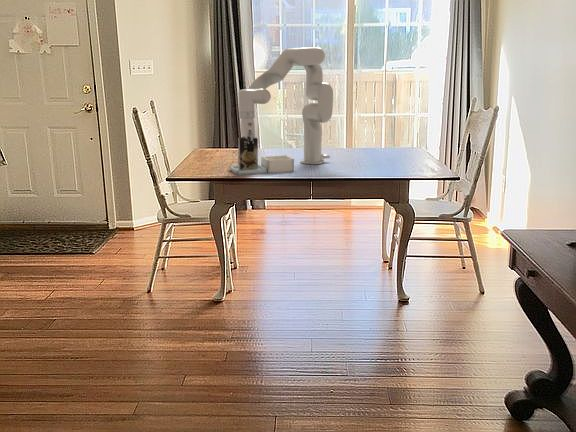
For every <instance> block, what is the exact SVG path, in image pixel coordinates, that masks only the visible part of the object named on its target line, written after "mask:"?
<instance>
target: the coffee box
mask: <svg viewBox="0 0 576 432" xmlns="http://www.w3.org/2000/svg"><path fill="white" fill-rule="evenodd" d="M237 141H238V143H237V149H238V150H237V151H238V154H237V156H238V165H237V166H239V170H240V171H242V170H256V169H258V164H259V157H258V156H259V155H258V154H259V152H258V151H259V148H258V147H259V144H258V143H259V141H258V137H256V136H255V139H254V140H253V141H254V151H253V152H247V144H248V142H247V139H245V138H243V137H242V136H240V137H239V136H238V137H237Z"/></svg>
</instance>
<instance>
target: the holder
mask: <svg viewBox="0 0 576 432" xmlns="http://www.w3.org/2000/svg"><path fill="white" fill-rule="evenodd" d="M260 161H261V163H260V166H262V167H264V168H265V169H266V173H282V172H292V171H295V158H293V157H291V156H289V155H286V154H285V155H284V154H283V155H281V154H280V155H270V156H267V155H266V156H265V155H264V156H260Z"/></svg>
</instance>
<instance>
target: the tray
mask: <svg viewBox="0 0 576 432" xmlns="http://www.w3.org/2000/svg"><path fill="white" fill-rule="evenodd" d="M229 170H230V171H231V172H232V173H233V174H235V175H236V176H245V175H257V174H259V175H260V174H267V172H266V169H265V168H264V167H262V166H261V164H259V163H258V169H256V170H242V171H240V170H239V165H230V166H229Z"/></svg>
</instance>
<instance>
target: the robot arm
mask: <svg viewBox="0 0 576 432" xmlns="http://www.w3.org/2000/svg"><path fill="white" fill-rule="evenodd" d="M325 58H326V53H325V50H324V49H322V48H321V47H318V46H316V47H314V46H313V47H312V46H309V47H308V46H305V47H288V48H285V49H284V50H283V51H282V52H281V53H280V54H279V55H278V57H277V58H276V60H275V61H274V62H273V64H272V65H271V66H270V67H269V69H267V70H266V71H264V72H263V73H262V74H261V75H260V74H259V76H258V77H256V78H255V80H253V82H252V83H251V84H250V86H249V87H248V89H247V88H244V89H239V90H238V117H239V119H240V137H243V138H245V139H247V142H248V144H247V152H253V151H254V141H253V140H254V139H255V137H256V130H255V128H256V127H255V120H254V119H255V118H256V116H255V114H256V112H255V104H256V105H265V104H268V103H269V102H270V100H271V98H272V95H271V93H270V91H269V90H268V88H269V87H270V86H273V85H275V84H278V83H280V82H283V80H284V79H285V78H286V77H287V75H288V73H290V71H291V70H292V69H293V67H294V66H295V67H300V66H301V67H303V68H304V70H305V73H306V76H305V77H306V80H305V82H306V83H305V96H306V98H307V99H308V100H310V101H316V102H309V103H307V104H305V105H304V106H303V108H302V110H301V111H302V112H301V113H302V120H303V121H302V122H303V158H302V159H301V160H300V163H301V164H303V165H304V164H305V165H320V164H324V163H325V159H331V158H330V157H331V156H330V154H323V153H322V142H323V141H322V140H323V137H322V136H323V135H322V134H323V130H322V129H323V128H322V125H321V123H323V124H324V123H328V122H329V121H330V120H331V119H332V115H333V106H334V90H333V87H332V85H331V84H330V83H328V82H323V81H324V79H323V78H324V75H323V68H322V65H321V64H323V62H324V60H325Z"/></svg>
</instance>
